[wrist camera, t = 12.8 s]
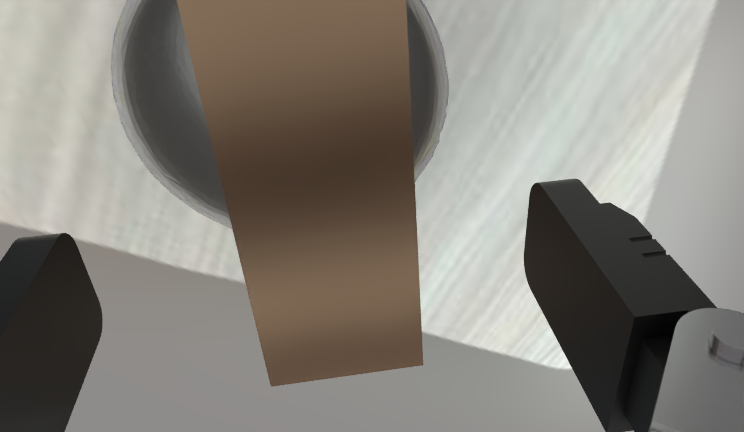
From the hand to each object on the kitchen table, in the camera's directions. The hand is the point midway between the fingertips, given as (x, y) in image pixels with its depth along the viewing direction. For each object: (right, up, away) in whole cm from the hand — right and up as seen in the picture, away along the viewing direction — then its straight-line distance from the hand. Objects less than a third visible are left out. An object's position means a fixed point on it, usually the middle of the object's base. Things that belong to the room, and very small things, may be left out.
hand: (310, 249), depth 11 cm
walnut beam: (-1, +5, +8) cm, 10 cm away
